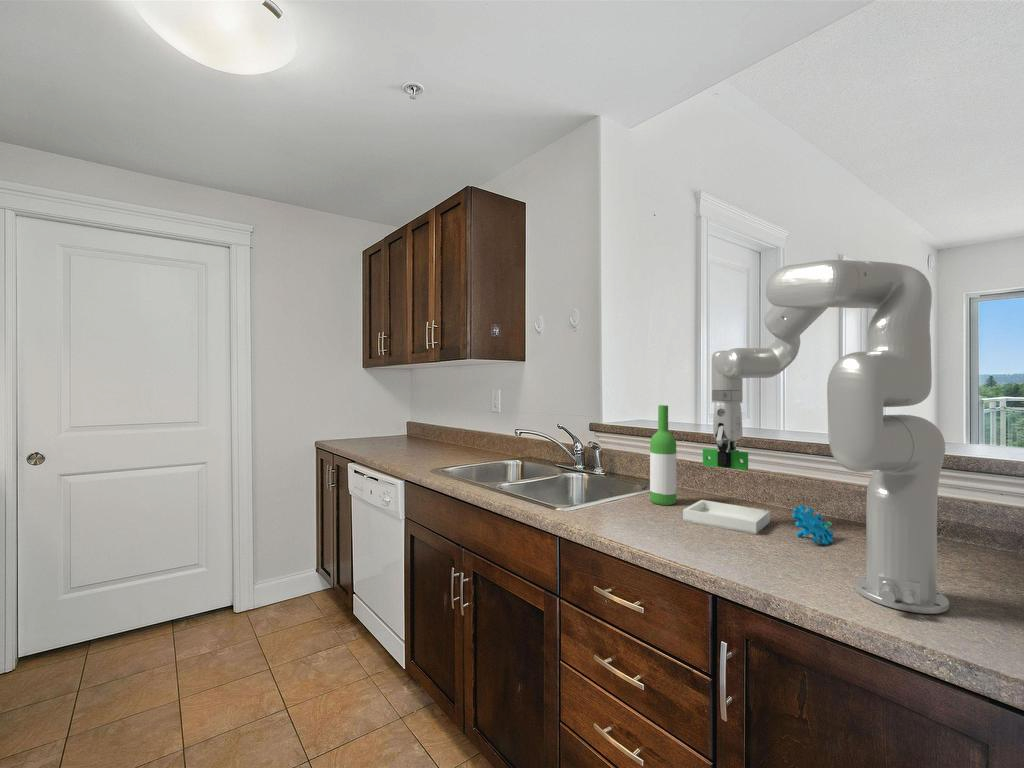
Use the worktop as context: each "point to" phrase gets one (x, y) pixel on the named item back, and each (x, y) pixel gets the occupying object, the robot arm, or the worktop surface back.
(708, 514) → the tray
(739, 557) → the worktop surface
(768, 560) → the worktop surface
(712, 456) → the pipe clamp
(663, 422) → the wine bottle
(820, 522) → the blue lumpy piece
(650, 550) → the worktop surface
